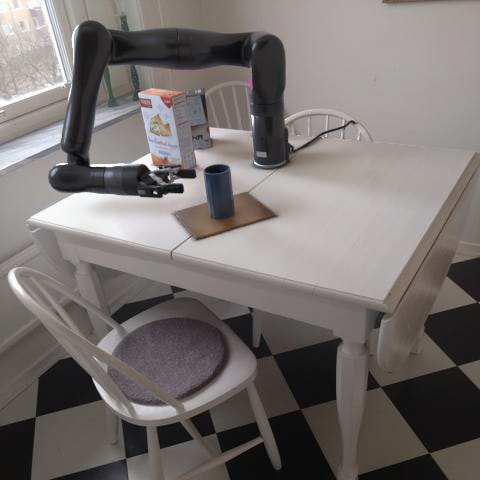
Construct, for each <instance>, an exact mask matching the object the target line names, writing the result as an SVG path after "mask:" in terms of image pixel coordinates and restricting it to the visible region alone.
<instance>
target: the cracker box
mask: <svg viewBox="0 0 480 480" xmlns="http://www.w3.org/2000/svg"><path fill="white" fill-rule="evenodd" d="M137 96H138V100H139V105H140V110H141V115H142V118H143V124H144V128H145V133H146V138H147V142H148V147H149V151H150V157H151V162H152V164H153V165H157V166H159V165H178V164H179V165H181V167H182V169H193V168H194V167H196V166H198V165H197V159H196V158H197V157H196V152H195V149H194V145H193V138H192V132H191V125H190V119H189V113H188V106H187V99H186V93H185V91H177V90H170V89H162V88H157V87H156V88H155V87H151V88H149V89H146V90H142V91H140V92H138V93H137Z"/></svg>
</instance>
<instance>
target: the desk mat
mask: <svg viewBox="0 0 480 480" xmlns="http://www.w3.org/2000/svg"><path fill="white" fill-rule="evenodd" d="M233 198H234V207H235V213H234V215H233V216H231V217H229V218H225V219H214V218H212V217H210V214H209V209H208V202H204V203H200V204H197V205H194V206H190V207H187V208H183V209H180V210H175V211H173V215H174V216H175V217H176V218H177V220H178V221H179V222H180V223H181V225H183V226H184V227H185V229H186V230H187V231H188V232H189V233H190V235H191V236H192V237H193V238H194V239H195V240H196V241H198V240H201V239H204V238H207V237H208V238H209V237H210V236H214V235H217V234H221V233H223V232H224V233H225V232H227V231H231V230H234V229H237V228H241V227H243V226H247V225H252V224H255V223H257V222H261V221H264V220H268V219H270V218H273V217H275V216H276V214H275V213H274V212H272V211H271V210H270V209H269V208H267V207H266V206H265V205H264V204H262V203H261V202H260V201H258V200H257V199H256V198H255V197H254V196H252V195H250V194H249V193H248V192H247V191H244V192H240V193H236V194H233Z"/></svg>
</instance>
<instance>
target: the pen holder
mask: <svg viewBox="0 0 480 480" xmlns="http://www.w3.org/2000/svg"><path fill="white" fill-rule="evenodd" d="M231 171H232V169H231V166H230V165H229V164H226V163H215V164H211V165H208V166H206V167H205V168H203V169H202V173H203V181H204V188H205V194H206V201H207V202H206V203H208V209H209V214H210V217H212V218H214V219H225V218H229V217H231V216H233V215H234V213H235V207H234V198H233V195H234V190H233V189H234V188H233V181H232V172H231Z"/></svg>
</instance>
